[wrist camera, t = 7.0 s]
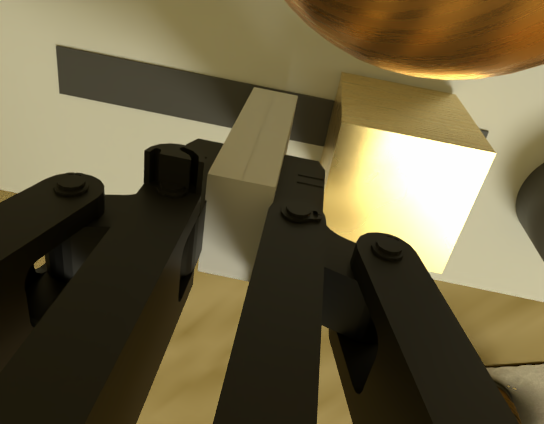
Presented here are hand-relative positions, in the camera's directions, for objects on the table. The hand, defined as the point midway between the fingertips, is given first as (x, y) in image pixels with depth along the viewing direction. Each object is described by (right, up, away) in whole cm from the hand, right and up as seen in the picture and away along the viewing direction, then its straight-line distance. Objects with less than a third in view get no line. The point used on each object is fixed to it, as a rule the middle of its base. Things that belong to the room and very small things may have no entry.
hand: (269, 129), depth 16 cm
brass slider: (+4, 0, +1) cm, 4 cm away
